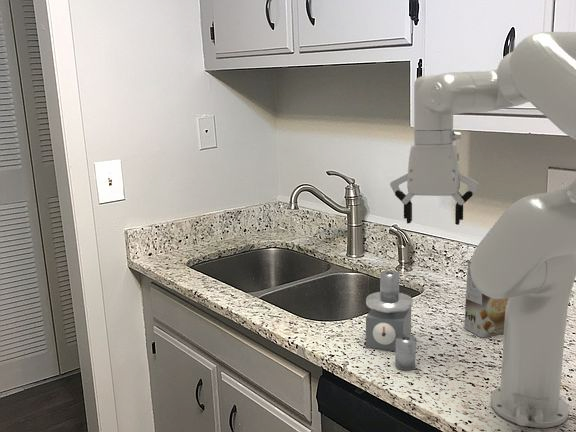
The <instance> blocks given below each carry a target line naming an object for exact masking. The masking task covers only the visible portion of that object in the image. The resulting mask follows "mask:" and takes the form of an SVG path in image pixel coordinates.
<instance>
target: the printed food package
mask: <svg viewBox="0 0 576 432" xmlns="http://www.w3.org/2000/svg"><path fill="white" fill-rule="evenodd" d="M470 264H471V260H468V261H467V268H466V269H467V273H466V289H465V304H464V305H465V307H464V309H465V310H464V323H463V327H464V329H466V330H467V331H469V332H471V333H472V334H474V335H475V336H477V337H479V338H481V339H482V338H487V337H492V336H497V335H501V334H503V335H504V321H505V311H506V306H507V302H508V299H509V298H506V299H495V298H491V297H488V296H486V295H484V294H482V293H481V292H480V291H479V290H478V289H477V288H476V286H475V285H474V283H473V281H472V278H471V273H470Z"/></svg>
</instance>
